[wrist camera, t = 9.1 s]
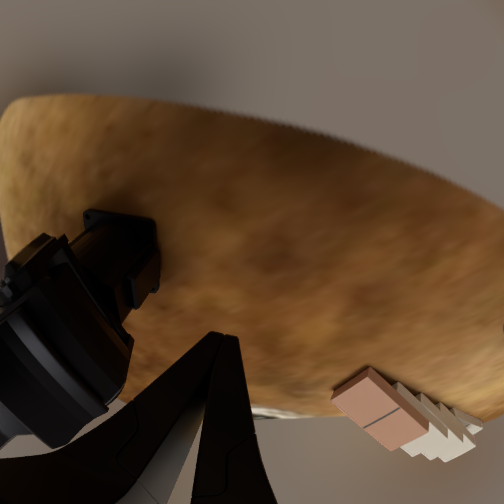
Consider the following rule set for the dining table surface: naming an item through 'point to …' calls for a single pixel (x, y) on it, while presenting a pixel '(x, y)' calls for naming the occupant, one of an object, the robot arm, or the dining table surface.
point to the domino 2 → (436, 428)
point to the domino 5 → (467, 421)
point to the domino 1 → (380, 410)
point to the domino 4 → (468, 438)
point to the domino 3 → (453, 432)
